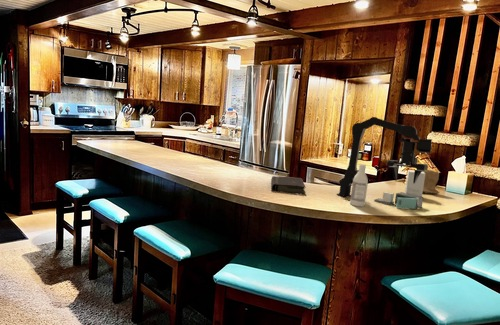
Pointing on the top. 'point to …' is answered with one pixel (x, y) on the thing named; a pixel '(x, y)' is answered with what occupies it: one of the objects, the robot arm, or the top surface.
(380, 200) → the mixer board
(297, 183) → the diary
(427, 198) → the top surface
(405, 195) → the rack
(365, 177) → the bath foam
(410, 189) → the supplement box
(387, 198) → the fader knob
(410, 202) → the teal rectangular slab
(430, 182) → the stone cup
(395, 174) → the robot arm
